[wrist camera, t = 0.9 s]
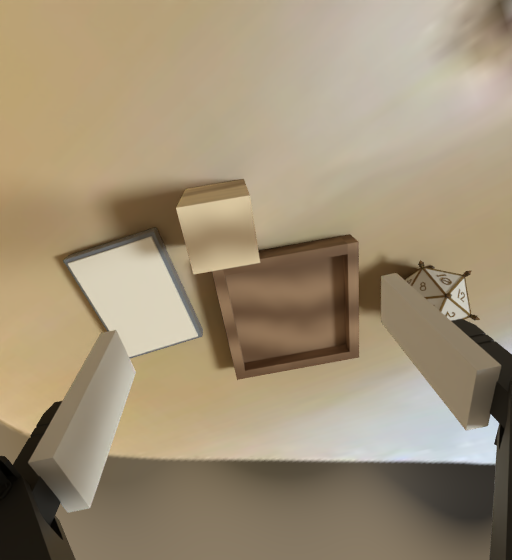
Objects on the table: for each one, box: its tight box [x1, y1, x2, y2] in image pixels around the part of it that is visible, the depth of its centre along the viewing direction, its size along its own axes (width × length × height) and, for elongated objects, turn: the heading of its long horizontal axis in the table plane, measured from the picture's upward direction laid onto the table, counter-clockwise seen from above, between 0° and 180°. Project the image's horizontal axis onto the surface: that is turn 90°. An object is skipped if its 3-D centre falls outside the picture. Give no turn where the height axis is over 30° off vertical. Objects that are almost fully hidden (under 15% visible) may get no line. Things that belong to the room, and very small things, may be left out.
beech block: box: [176, 179, 260, 274], centre depth 31 cm, size 6×6×8 cm
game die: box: [404, 260, 480, 321], centre depth 37 cm, size 9×8×10 cm
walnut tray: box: [212, 235, 359, 380], centre depth 39 cm, size 16×16×2 cm
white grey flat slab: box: [63, 228, 203, 358], centre depth 37 cm, size 14×10×2 cm
